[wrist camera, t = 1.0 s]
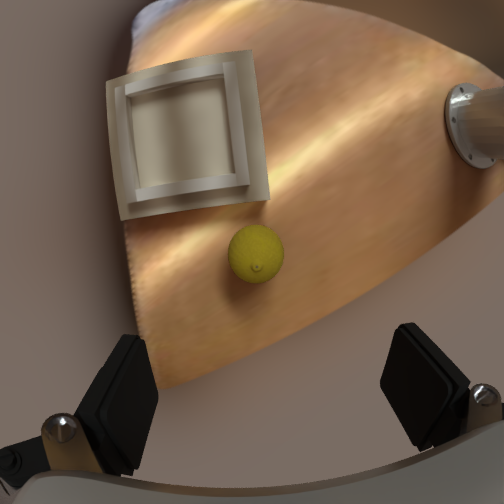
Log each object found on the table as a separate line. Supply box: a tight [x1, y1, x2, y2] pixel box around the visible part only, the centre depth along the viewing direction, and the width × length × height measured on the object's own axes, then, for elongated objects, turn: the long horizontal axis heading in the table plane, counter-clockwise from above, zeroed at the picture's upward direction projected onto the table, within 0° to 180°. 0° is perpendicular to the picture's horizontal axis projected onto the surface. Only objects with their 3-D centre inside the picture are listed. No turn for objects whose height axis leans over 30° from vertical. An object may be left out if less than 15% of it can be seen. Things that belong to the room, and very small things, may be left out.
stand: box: [106, 50, 270, 221], centre depth 26 cm, size 16×16×4 cm
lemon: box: [228, 225, 284, 283], centre depth 28 cm, size 6×6×8 cm
